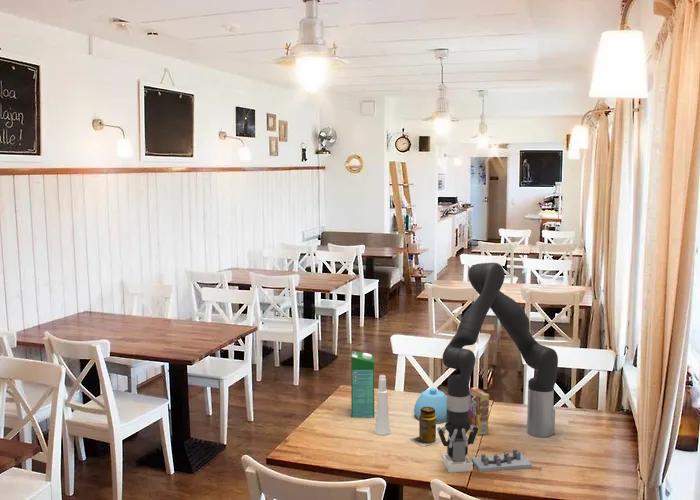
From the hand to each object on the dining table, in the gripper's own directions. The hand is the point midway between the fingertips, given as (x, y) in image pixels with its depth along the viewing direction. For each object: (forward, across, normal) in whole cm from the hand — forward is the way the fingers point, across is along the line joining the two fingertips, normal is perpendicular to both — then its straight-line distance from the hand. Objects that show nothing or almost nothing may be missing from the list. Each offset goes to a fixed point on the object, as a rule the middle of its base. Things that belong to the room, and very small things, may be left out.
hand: (457, 456), depth 223 cm
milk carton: (+4, +23, -52) cm, 57 cm away
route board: (+4, -15, +1) cm, 15 cm away
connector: (+1, 0, 0) cm, 1 cm away
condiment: (+4, +5, -22) cm, 23 cm away
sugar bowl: (+4, -4, -44) cm, 44 cm away
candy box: (+4, -17, -28) cm, 33 cm away
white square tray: (+4, 0, 0) cm, 4 cm away
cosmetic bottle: (+4, +19, -32) cm, 37 cm away
